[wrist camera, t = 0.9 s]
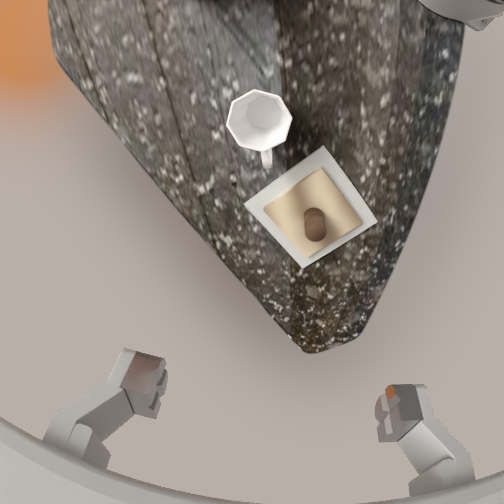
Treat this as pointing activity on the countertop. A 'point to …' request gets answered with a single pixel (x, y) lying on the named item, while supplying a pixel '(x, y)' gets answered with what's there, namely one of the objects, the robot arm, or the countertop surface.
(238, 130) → the cup
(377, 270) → the countertop surface
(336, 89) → the countertop surface
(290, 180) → the mat
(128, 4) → the countertop surface
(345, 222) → the lid
